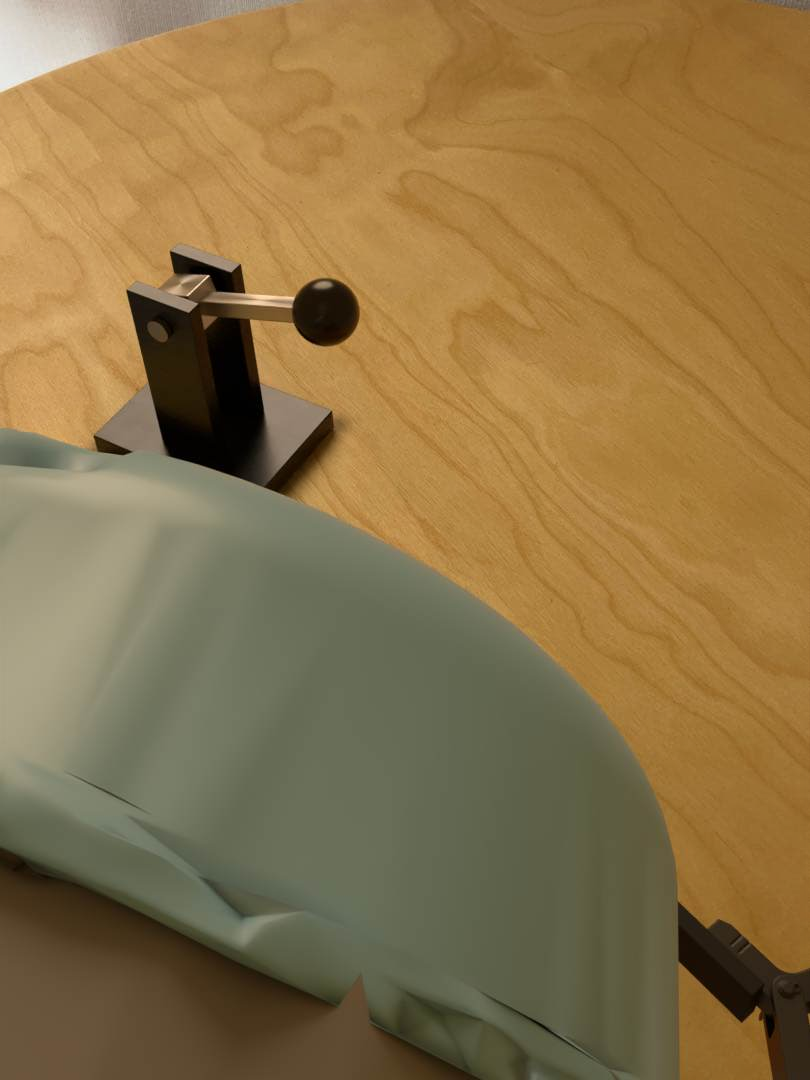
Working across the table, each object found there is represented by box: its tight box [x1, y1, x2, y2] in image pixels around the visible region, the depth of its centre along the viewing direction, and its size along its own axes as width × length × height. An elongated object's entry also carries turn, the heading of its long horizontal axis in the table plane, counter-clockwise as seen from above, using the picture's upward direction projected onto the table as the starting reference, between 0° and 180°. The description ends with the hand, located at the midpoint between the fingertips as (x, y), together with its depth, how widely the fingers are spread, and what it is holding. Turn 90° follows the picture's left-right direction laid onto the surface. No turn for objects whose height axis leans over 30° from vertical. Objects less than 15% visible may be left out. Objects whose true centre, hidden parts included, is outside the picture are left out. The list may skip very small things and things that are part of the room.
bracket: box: [92, 242, 335, 493], centre depth 80 cm, size 12×9×13 cm
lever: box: [158, 273, 361, 348], centre depth 73 cm, size 13×4×4 cm, turn 60°
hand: (513, 989), depth 54 cm, fingers open, 13 cm apart
